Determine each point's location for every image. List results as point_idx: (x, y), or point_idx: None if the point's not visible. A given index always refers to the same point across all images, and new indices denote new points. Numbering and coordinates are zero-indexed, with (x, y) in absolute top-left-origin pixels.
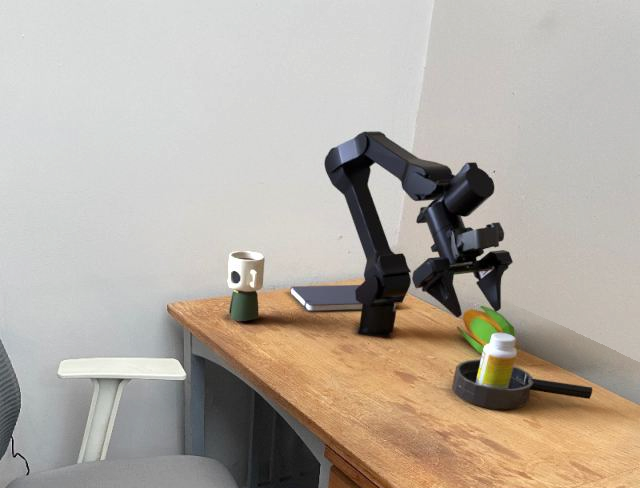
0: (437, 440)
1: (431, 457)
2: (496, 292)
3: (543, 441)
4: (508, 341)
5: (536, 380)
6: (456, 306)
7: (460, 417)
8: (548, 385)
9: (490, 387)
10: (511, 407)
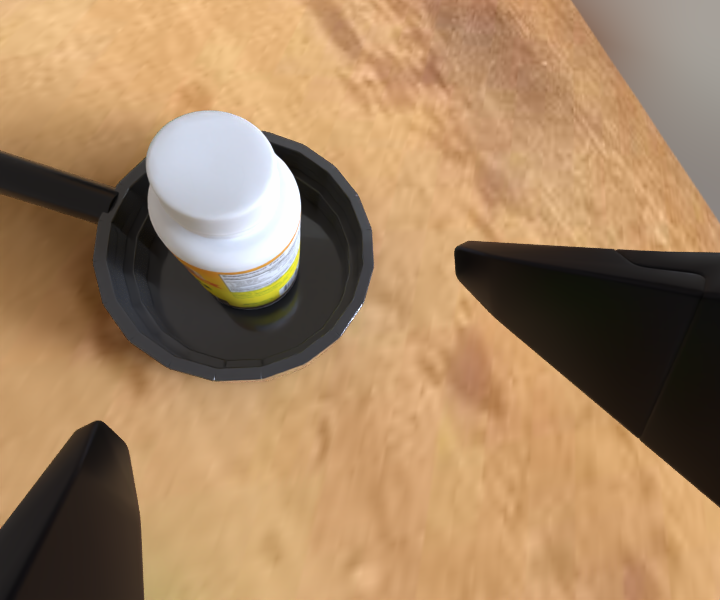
0: (448, 55)
1: (469, 4)
2: (33, 559)
3: (213, 30)
4: (210, 111)
5: (99, 189)
6: (522, 245)
7: (376, 141)
8: (64, 171)
9: (296, 148)
10: None
